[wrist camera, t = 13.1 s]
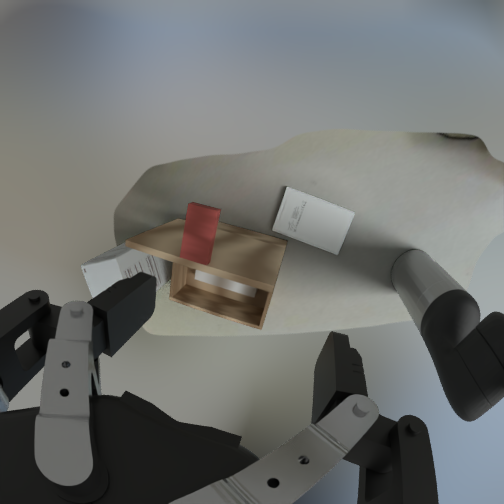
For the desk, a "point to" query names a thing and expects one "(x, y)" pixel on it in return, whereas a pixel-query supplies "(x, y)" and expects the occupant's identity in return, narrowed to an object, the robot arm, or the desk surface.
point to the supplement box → (123, 268)
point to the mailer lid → (212, 248)
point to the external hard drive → (313, 220)
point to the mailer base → (223, 288)
